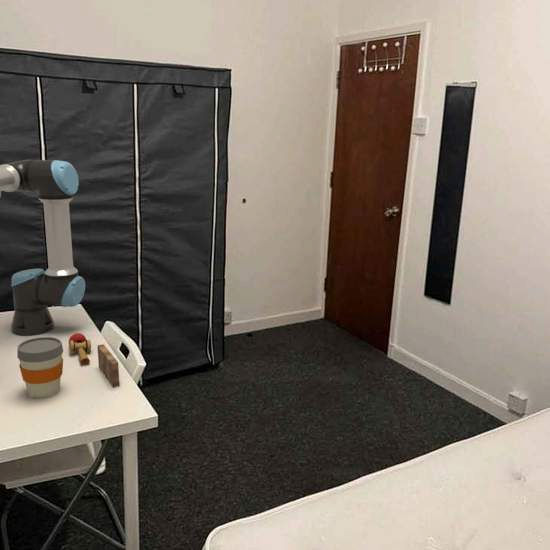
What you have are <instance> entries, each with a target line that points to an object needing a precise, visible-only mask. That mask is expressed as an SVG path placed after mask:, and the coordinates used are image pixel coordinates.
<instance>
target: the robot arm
mask: <svg viewBox="0 0 550 550" xmlns="http://www.w3.org/2000/svg"><path fill="white" fill-rule="evenodd" d="M79 181H80V180H79V175H78V172H77V171H76V169H75V167H74V166H73V164H71V163H70V162H68V161H65V160H57V159H49V160H48V159H24V160H18V161H13V162H7V163H3V164H0V198H1V197H2V192H3V191H4V192H6V193H11V192H25V193H26V192H27V193H35V194H36V193H37V197H38V200H39V201H40V202H41V203H42V204H43V212H44V214H43V216H44V226H45V238H46V239H45V240H46V251H47V253H46V254H47V265H48V268H47V269H46V270H44V269H43V268H31V269H26V270H25V269H24V270H20V271H18V272H16V273H14V274H13V275H12V276H11V285H10V286H11V289H12V299H13V306H14V307H13V308H14V314H13V317H12V321H11V324H10V325H11V326H10V328H11V332H12V334H15V335H18V336H36V335H40V334H44V333H48V332H51V330H53V329H54V327H55V323H54V319H53V316H52V315H51V312H50V310H49V308H48V306H54V307H62V308H72V307H73V308H74V307H77V306H78V305H79V304H81V301H82V300H83V297H84V295H85V290H86V281H85V279H84V277H82V276H79V270H78V269H77V268H76V267H75V265H74V259H73V245H72V244H73V243H72V229H71V216H70V203H71V201H72V200H73V199H74V196H73V195H75V194H76V193H77V191H78V190H79V188H78V187H79V185H80V182H79Z"/></svg>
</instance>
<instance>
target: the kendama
mask: <svg viewBox="0 0 550 550" xmlns="http://www.w3.org/2000/svg"><path fill="white" fill-rule="evenodd" d="M77 351H78V357H79V362H80V365H82V366H83V365H85V366H88V365H90V358H89V357H88V355H87V354H90V353H91V351H92V343H91V339H87V338H86V336H85V335H84V334H83V333H79V332H77V333H73V334H71V335H70V337H69V339H68V353H69V354H74V353H75V352H77Z"/></svg>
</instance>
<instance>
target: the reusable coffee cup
mask: <svg viewBox="0 0 550 550" xmlns="http://www.w3.org/2000/svg"><path fill="white" fill-rule="evenodd" d="M16 353H17V359H18V360H19V365H18V366H19V370H20V374H21V378H22V380H23V381H24V383H25V386H26V391H27V394H28V396H29V395H30V396H29V397H31V398H34V397H35V399H43V398H49V397H52V396H54V395H57V394H58V393H59V392H60V390H61V378H62V375H63V369H64V368H63V366H64V358H63V353H64V347H63V343H62V341H61V339H59V338H57V337H51V336H41V337H35V338H34V337H33V338H31V339H27V340H25V341H22V342H20V343H19V344H18V345H17V352H16ZM57 392H58V393H57Z"/></svg>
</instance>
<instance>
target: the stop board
mask: <svg viewBox="0 0 550 550" xmlns="http://www.w3.org/2000/svg"><path fill="white" fill-rule="evenodd" d="M96 348H97V361H98V368H99V370H100V372H101V373H102V374H103V375H105V376H104V377H105V379H106V380H107V381H108V382H109V384H110V385H111V387H112V388H117V387H120V372H119V371H120V370H119V362H118V360H117V359H116V358H115V356H114V355H113V354H112V353H111V351H110V350H109V349H108V348H107V347H106V346H105V344H104V343H102V344H97V347H96Z"/></svg>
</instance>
